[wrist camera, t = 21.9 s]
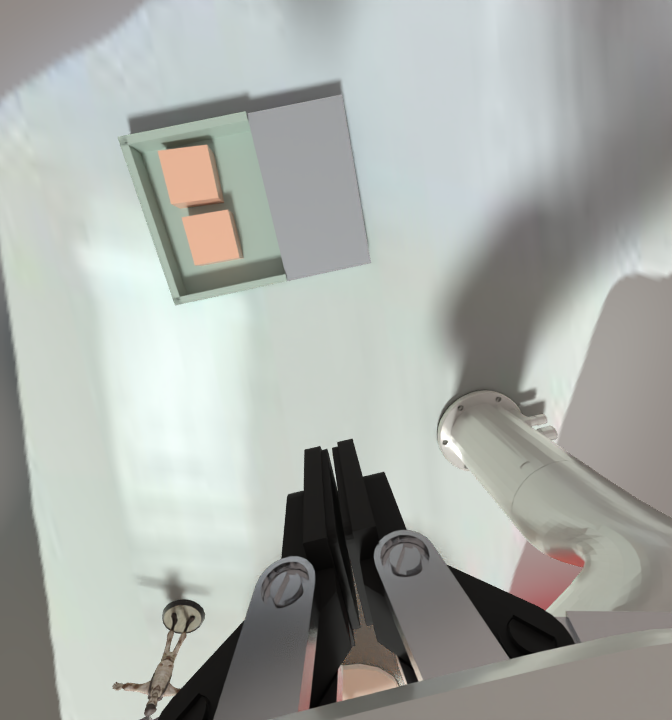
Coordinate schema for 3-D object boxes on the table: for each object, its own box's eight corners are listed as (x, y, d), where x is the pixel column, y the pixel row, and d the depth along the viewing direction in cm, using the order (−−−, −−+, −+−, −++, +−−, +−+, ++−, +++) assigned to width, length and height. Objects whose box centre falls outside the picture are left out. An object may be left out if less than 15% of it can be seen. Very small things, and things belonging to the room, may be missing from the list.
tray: (250, 124, 36) (245, 111, 33) (288, 280, 40) (286, 281, 37) (133, 148, 35) (117, 137, 32) (184, 303, 40) (175, 305, 37)
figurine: (143, 625, 52) (97, 726, 40) (151, 594, 51) (105, 689, 39) (214, 635, 54) (188, 735, 42) (223, 605, 52) (199, 700, 41)
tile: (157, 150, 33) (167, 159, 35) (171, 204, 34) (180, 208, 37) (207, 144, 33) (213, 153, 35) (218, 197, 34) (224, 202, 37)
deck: (339, 106, 36) (341, 94, 33) (367, 263, 40) (370, 262, 38) (250, 124, 36) (246, 113, 33) (288, 280, 40) (287, 281, 38)
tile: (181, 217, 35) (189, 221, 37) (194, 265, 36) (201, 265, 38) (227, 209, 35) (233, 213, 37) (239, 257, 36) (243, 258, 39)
